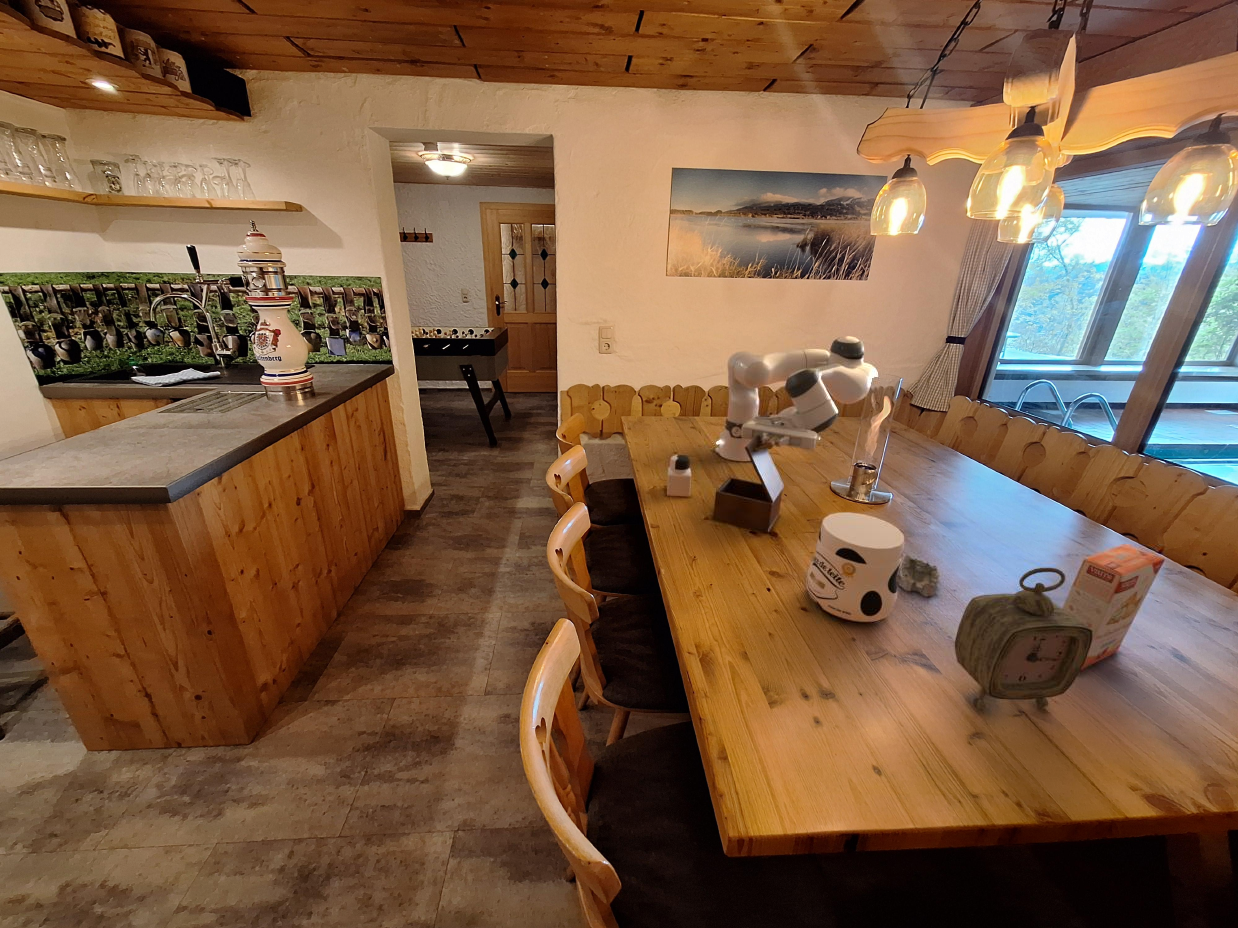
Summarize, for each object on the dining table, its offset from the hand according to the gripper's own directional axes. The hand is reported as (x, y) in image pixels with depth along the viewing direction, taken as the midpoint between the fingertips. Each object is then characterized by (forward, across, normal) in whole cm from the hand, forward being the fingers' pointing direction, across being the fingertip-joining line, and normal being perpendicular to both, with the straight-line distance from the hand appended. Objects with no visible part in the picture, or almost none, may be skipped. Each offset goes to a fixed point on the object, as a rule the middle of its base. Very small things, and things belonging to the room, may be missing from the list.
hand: (771, 442), depth 131 cm
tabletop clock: (+41, -51, -24) cm, 69 cm away
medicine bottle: (-6, +28, -24) cm, 37 cm away
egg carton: (+11, -39, -24) cm, 47 cm away
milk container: (+28, -26, -24) cm, 45 cm away
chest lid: (0, +1, -8) cm, 8 cm away
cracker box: (+21, -66, -24) cm, 73 cm away
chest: (0, +4, -24) cm, 24 cm away
